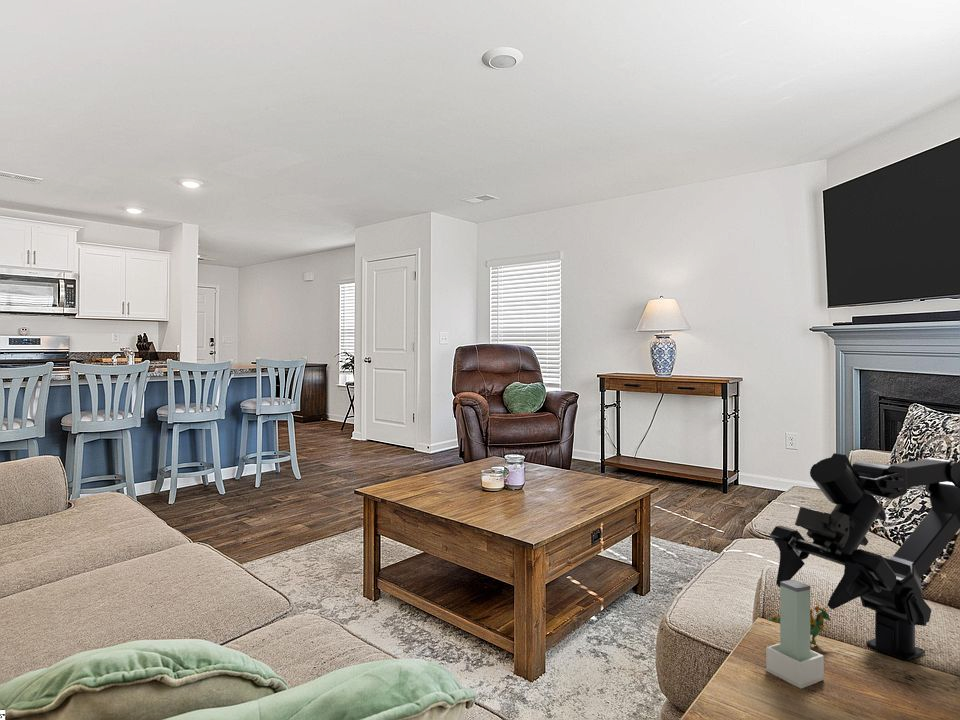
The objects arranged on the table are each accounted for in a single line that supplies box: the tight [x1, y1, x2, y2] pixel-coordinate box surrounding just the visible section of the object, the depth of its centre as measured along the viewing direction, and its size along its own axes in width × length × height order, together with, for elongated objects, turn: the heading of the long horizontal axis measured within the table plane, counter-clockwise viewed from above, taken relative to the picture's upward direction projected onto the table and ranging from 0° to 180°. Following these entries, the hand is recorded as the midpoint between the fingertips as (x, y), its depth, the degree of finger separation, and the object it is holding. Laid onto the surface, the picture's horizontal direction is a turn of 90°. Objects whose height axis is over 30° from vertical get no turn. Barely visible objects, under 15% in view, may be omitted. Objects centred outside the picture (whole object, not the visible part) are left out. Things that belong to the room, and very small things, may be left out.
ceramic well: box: [765, 642, 825, 689], centre depth 89 cm, size 6×6×4 cm
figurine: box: [767, 605, 831, 647], centre depth 99 cm, size 3×12×8 cm, turn 96°
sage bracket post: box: [779, 579, 811, 662], centre depth 89 cm, size 3×3×14 cm
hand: (802, 596), depth 90 cm, fingers open, 9 cm apart
